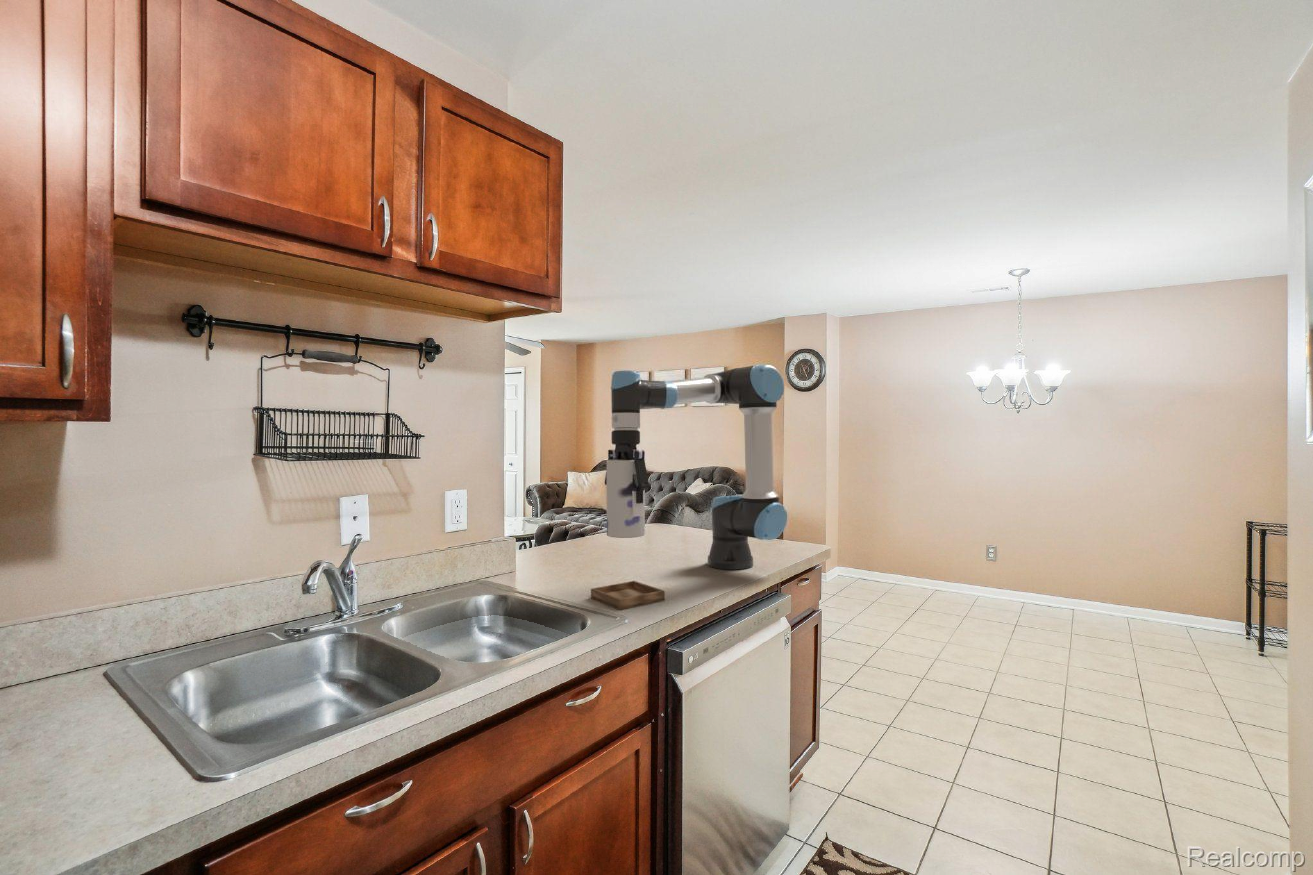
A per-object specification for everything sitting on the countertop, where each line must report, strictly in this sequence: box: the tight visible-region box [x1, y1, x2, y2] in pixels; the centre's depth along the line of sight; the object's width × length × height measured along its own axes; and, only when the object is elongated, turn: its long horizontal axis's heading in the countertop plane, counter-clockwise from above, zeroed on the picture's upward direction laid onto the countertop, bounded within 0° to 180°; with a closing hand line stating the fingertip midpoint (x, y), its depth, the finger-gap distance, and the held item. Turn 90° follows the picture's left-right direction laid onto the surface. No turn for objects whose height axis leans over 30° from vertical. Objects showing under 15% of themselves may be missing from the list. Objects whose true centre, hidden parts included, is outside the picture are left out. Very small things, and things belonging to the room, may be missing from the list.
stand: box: [590, 580, 666, 611], centre depth 158 cm, size 14×14×2 cm
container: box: [606, 459, 646, 539], centre depth 157 cm, size 10×10×20 cm
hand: (625, 513), depth 157 cm, fingers closed on container, 10 cm apart
